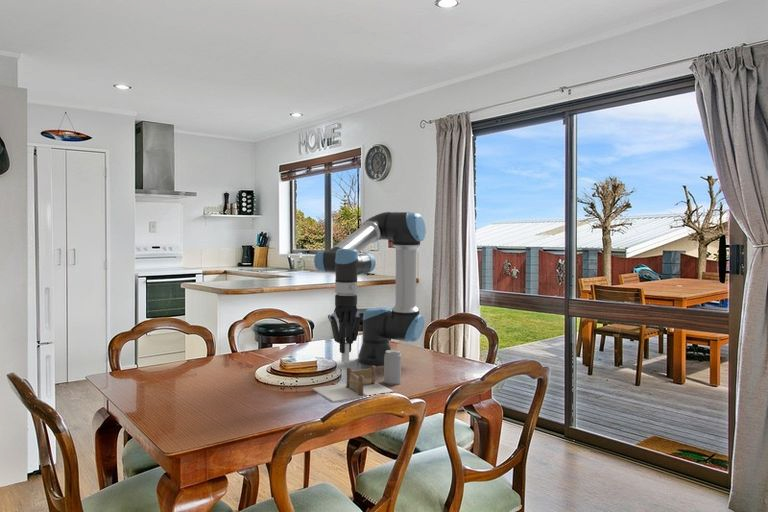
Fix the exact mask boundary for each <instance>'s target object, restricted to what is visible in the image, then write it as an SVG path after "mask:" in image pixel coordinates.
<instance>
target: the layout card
mask: <svg viewBox="0 0 768 512" xmlns="http://www.w3.org/2000/svg"><path fill="white" fill-rule="evenodd" d="M346 385H347V382H345V383H339V384H332V385H331V384H330V385H323V386H318V387H313V388H311V389H312V390H313V391H314V392H316V393H317V394H319V395H320V396H322V397H324V398H326V399H327V400H329V401H331V402H332V403H337V402H338V401H339V402H343V401H344V400H345V401H349V400H348V399H351V400H357V399H362V398H361V397H363V398H366V397H365V396H369V395H373V394H380V393H387V394H391V393H390V392H393V393H395V391H394V390H392V389H390V388H389V387H387V386H385V385H382V384H380V383H378V382H376V381H375V384H370V383H368V384H364V388H363V395H358V393H357V392H356V391H354V390H353V389H351V388H347V387H346ZM357 397H359V398H357ZM369 397H370V396H369ZM339 402H338V403H339Z"/></svg>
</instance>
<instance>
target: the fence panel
mask: <svg viewBox="0 0 768 512" xmlns="http://www.w3.org/2000/svg"><path fill="white" fill-rule="evenodd" d="M349 387H350V388H351V389H353V390H354V391H356V392H357V393H358V395H363V388H364V376H363V375H359V376H357V375H356V374H354V373H350V379H349Z"/></svg>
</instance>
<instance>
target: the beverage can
mask: <svg viewBox="0 0 768 512" xmlns="http://www.w3.org/2000/svg"><path fill="white" fill-rule="evenodd" d="M401 380H402V354H401V351H400V350H397V349H391V350H387V351H386V353H385V355H384V365H383V382H384V383H385V384H387V385H392V386H394V385H398V384H400V383H401Z"/></svg>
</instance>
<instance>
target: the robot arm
mask: <svg viewBox="0 0 768 512" xmlns="http://www.w3.org/2000/svg"><path fill="white" fill-rule="evenodd" d="M426 230H427V228H426V223H425V220H424V218H423V216H422V215H421V214H420V213H418V212H410V211H408V212H407V211H406V212H403V211H402V212H400V211H398V212H397V211H393V212H391V211H386V212H385V211H384V212H381V213H377V214H375V215H373V216H372V217H369V218H368V219H366V220H365V221H363V222H362V223H361V224H360V226H359V228H358V229H357V230H355V231H354V232H352V233H351V234H349V235H348V236H347V237H345V238H344V239H343V240H341V241H340V242H338V243H337V244H336V245H334V246H333V247H332V248H330V249H329V250H319V251H317V252H316V253H315V255H314V258H313V264H314V267H315V269H316V270H317V271H321V272H325V273H326V272H327V273H328V272H329V273H335V281H334V292H335V294H334V311H333V313H331V314H328V315H327V318H328V320H329V322H330V326H331V330H332V335H333V339H334V342H335V343H337V344H339V353H340V354H341V362H342V363H343V364H348V363H350V353H351V352H352V344H353V343H354V342H357V338H358V334H359V331H360V327H361V326H360V325H361V323H362V343H361V345H360V346H361V347H360V348H359V352H358V357H357V361H358V362H359V363H362V364H364V365H370V366H380V365H381V366H382V365H383V366H384V355H385V353H386V351H387V350H392V348H391V345H390V340H395V341H403V342H410V343H413V342H417V341H418V340H420V338H421V336H422V334H423V332H424V328H425V317H424V315H423V314H420V309H419V307H418V306H417V303H416V302H417V249H418V248H419V247H420V245H421V242H422V241H424V240H425V238H426V233H427V232H426ZM380 240H384V241H385V240H389V241H391V243H392V246H393V247H394V248H395V302H394V303H395V305H394V306H393V307H392V308H391V307H389V306H388V307H386V306H385V307H383V306H382V307H373V308H367V309H365V310H364V311H363V312H361V311H359V310H358V306H357V305H358V295H357V293H358V275H366V274H367V275H368V274H370V273H371V272H373V271H374V269H376V263H377V262H376V261H377V260H376V258H375V256H374V255H373V254H372V253H370V252H364V251H362V250H364V249H365V248H366V247H367V246H369V245H370V244H372V243H373V244H374V243H376V242H378V241H380ZM361 251H362V252H361ZM337 319H338V320H337ZM361 320H362V322H361Z"/></svg>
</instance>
